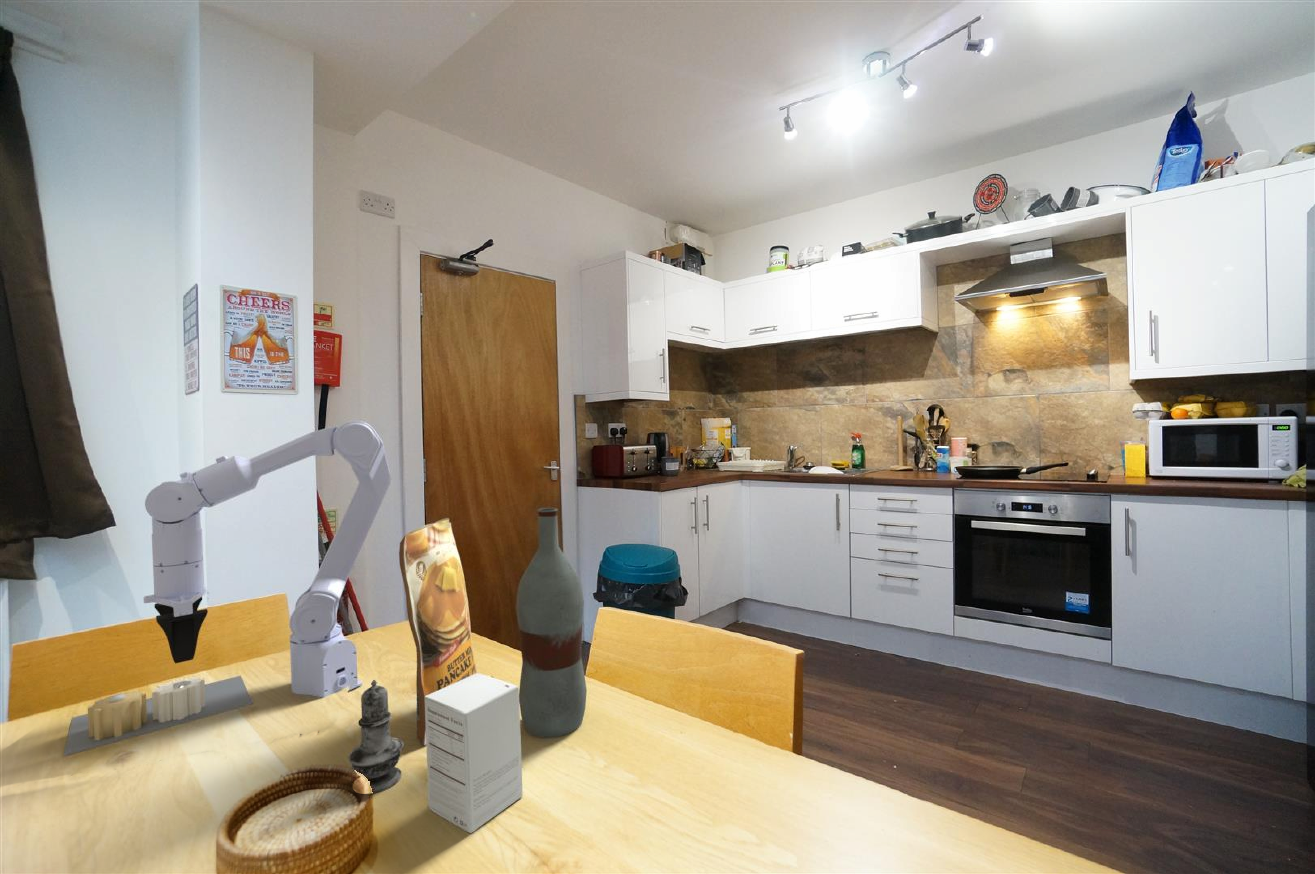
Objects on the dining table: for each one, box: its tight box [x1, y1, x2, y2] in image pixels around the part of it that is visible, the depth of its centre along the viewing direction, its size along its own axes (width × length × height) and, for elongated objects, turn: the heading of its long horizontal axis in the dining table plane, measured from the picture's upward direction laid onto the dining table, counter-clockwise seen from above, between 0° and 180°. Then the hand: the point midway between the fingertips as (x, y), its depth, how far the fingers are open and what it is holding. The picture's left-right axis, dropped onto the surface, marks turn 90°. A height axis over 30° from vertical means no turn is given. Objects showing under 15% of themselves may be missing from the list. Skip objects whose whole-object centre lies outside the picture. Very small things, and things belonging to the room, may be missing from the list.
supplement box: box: [425, 672, 524, 834], centre depth 63 cm, size 7×7×13 cm
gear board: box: [62, 675, 254, 757], centre depth 85 cm, size 20×14×6 cm
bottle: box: [515, 507, 588, 739], centre depth 81 cm, size 9×9×30 cm
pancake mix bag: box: [398, 517, 478, 747], centre depth 83 cm, size 7×19×28 cm, turn 174°
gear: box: [151, 676, 205, 722], centre depth 85 cm, size 6×6×4 cm
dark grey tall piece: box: [348, 679, 404, 795], centre depth 68 cm, size 6×6×12 cm
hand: (182, 653), depth 85 cm, fingers open, 7 cm apart
